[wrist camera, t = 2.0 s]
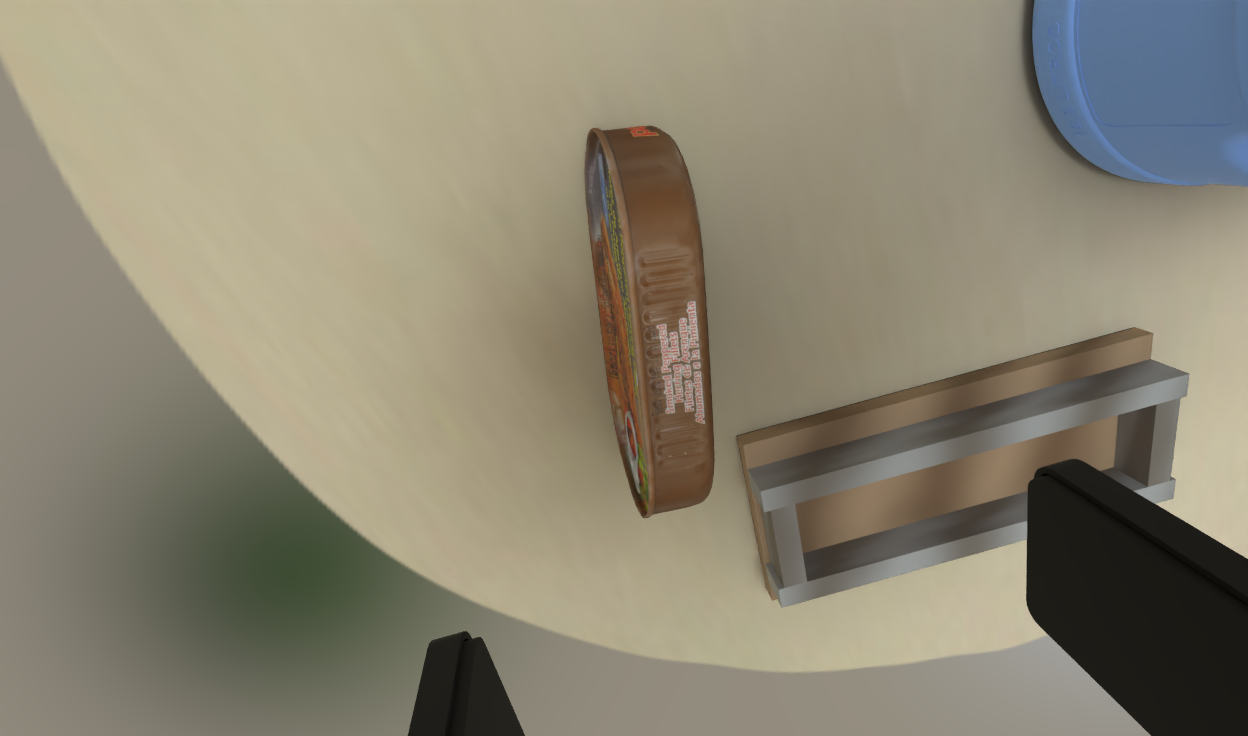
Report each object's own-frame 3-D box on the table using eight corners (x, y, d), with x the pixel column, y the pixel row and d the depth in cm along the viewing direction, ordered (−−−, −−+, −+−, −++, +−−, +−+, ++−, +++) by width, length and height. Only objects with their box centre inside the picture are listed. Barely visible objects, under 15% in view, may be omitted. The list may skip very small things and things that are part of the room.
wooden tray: (1135, 327, 31) (1192, 346, 28) (1120, 489, 35) (1170, 520, 32) (737, 436, 31) (756, 466, 28) (766, 587, 34) (785, 628, 32)
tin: (577, 129, 25) (591, 128, 17) (653, 121, 25) (702, 116, 17) (615, 454, 30) (640, 566, 22) (678, 444, 30) (723, 552, 23)
